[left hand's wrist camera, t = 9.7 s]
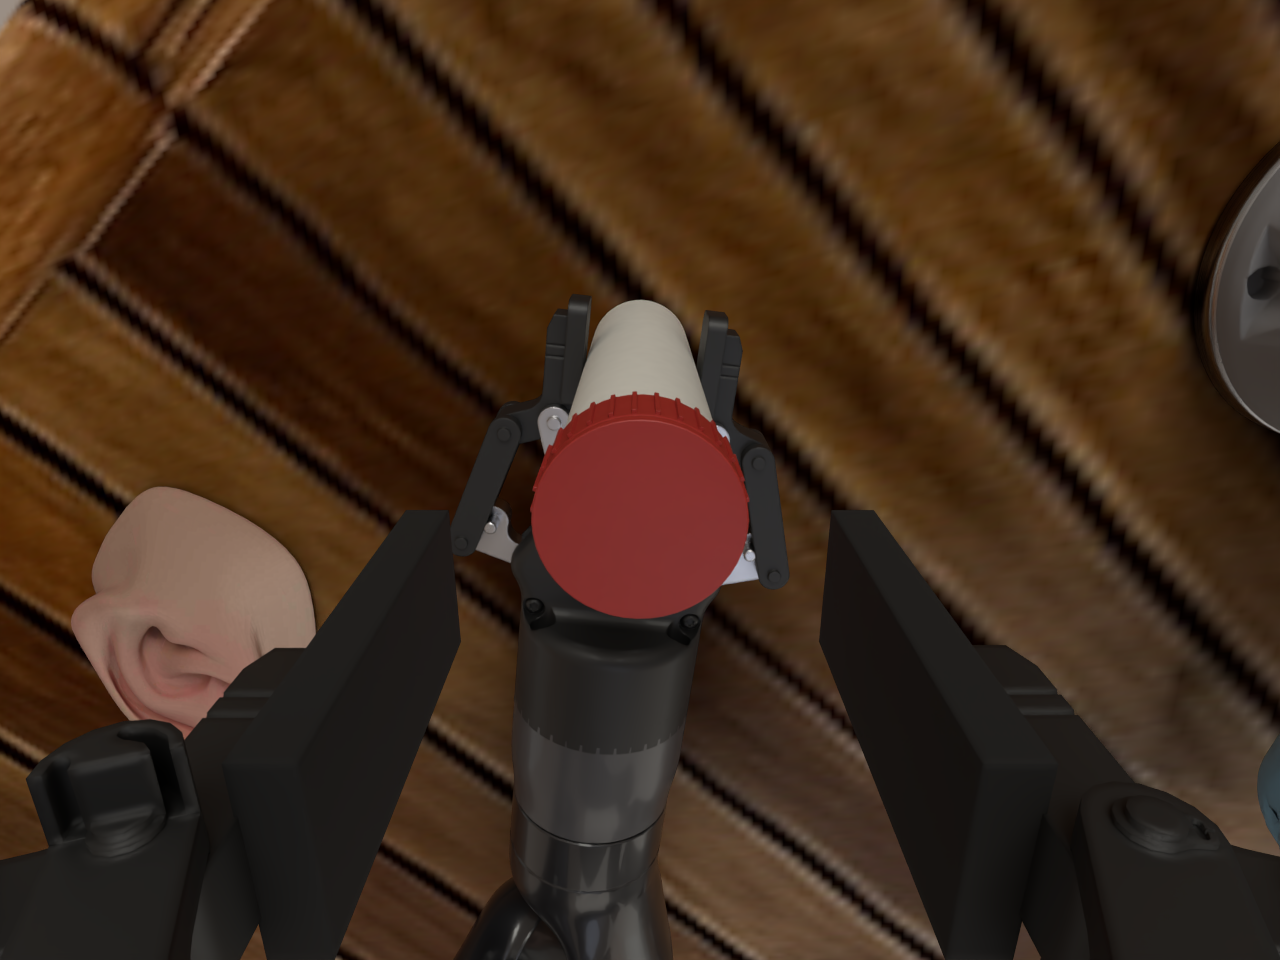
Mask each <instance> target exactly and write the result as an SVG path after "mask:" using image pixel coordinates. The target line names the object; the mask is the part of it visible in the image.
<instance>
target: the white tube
mask: <svg viewBox="0 0 1280 960" xmlns="http://www.w3.org/2000/svg"><path fill="white" fill-rule="evenodd" d="M633 391H637V394H646V395H654V393H655V392H656V393H659V396H661V397H666V398H670V399H672V400H675V398H679V399H680V401H681V403H683V404H685V405H687V406H689V407H691V408H693V409H694V408H695V407H697V408H698V409H699V410H700V414H701V415H703V416H704V417H705V418H706V419H707V420H708V421H709V422H710V421H712V417H711V413H710V410H709V407H708V404H707V401H706V398H705V394H704V391H703V388H702V385H701V382H700V379H699V376H698V372H697V369H696V366H695V363H694V360H693V357H692V353H691V350H690V347H689V344H688V341H687V338H686V334H685V331H684V329H683V327H682V325H681V323H680V321H679V320H678V319H677V317H676V316H675V315H674V314H673V313H672V312H671V311H670V310H668V309H667V308H666V307H664V306H662V305H660V304H658V303H655V302H651V301H646V300H634V301H628V302H625V303H622V304H620V305H618V306H616V307H615V308H613V309H612V310H610V311H609V312H608V313H607V314H606V315H605V316H604V317H603V318H602V320H601V321H600V323H599V325H598V327H597V329H596V331H595V334H594V337H593V341H592V344H591V347H590V350H589V353H588V356H587V360H586V363H585V366H584V369H583V372H582V375H581V379H580V382H579V385H578V388H577V391H576V395H575V398H574V401H573V404H572V407H571V410H570V414H569V417H568V420H567V423H566V426H567V425H568V424H569V423H570V421H571V420H572V416H573V415H574V414H575V413H577V414H578V415H579V414H580V413H581V412H583V411H585V410H586V409H588V408H590V404H591V403H592V402H595V403H596V404H598V403H600V402H602V401H604V400H608V399H610V397H611V395H614V394H615V395H616V397H619V396H625V395H632V392H633ZM566 426H565V427H566Z"/></svg>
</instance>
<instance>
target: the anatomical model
mask: <svg viewBox="0 0 1280 960" xmlns="http://www.w3.org/2000/svg"><path fill="white" fill-rule="evenodd" d="M92 582H93V586H94V589H95V592H96V595H94V596H92V597H90V598H89V599H87V600H86V601H84V602H83V603H82V604H80V605H79V606H78V607H77V608H76V610H75V611H74V613H73V615H72V619H71V626H72V630H73V632H74V634H75V636H76V638H77V640H78V642H79V644H80V645H81V647H82V649H83V650H84V652H85V654H86V655H87V657H88V659H89V660H90V662H91V664H92V665H93V667H94V669H95V670H96V672H97V674H98V675H99V677H100V679H101V680H102V682H103V684H104V685H105V687H106V689H107V690H108V692H109V694H110V695H111V697H112V698H113V700H114V701H115V702H116V704H117V705H118V707H119V708H120V709H121V711H122V712H123V713H124V714H125V715H126V717H127V718H128V719H129V720H130V721H134V720H145V719H152V720H158V721H164V722H169V723H171V724H173V725H174V726H175V727H176V728H178V729H179V730H180V731H181V732H182V733H183V737H184V740H185V738H186V737H187V736H188V735H189V734H190V732H191V731H192V730H193V729H194V728H195V726H196V725H197V724H198V723H199V722H200V720H201V719H202V718H206V717H207V712H208V711H209V709H210V708H211V707H212V706H213V705H214V703H215V702H216V701H217V700H218V699H219V697H223V695H224V691H225V690H226V689H227V688H228V687H229V685H230V684H231V683H232V682H233V680H234V679H235V678H236V677H237V676H238V674H239V673H240V672H241V671H242V670H243V668H245V667H246V666H248V665H249V664H251V663H253V662H254V661H256V660H257V659H259V658H260V657H262V656H263V655H265V654H266V653H268V652H269V651H271V650H272V649H274V648H306V647H307V646H308V644H309V643H310V642H311V640H312V639H313V638H314V636H315V635H316V629H315V618H314V610H313V604H312V599H311V594H310V590H309V586H308V583H307V580H306V578H305V575H304V573H303V571H302V569H301V567H300V566H299V564H298V563H297V561H296V560H295V558H294V557H293V556H292V555H291V554H290V552H289V551H288V550H287V549H286V548H285V547H284V546H283V545H282V544H280V543H279V542H278V541H277V540H276V539H275V538H273V537H272V536H271V535H269V534H268V533H267V532H265V531H264V530H263V529H261V528H260V527H258V526H257V525H255V524H253V523H252V522H250V521H249V520H247V519H246V518H244V517H242V516H240V515H238V514H236V513H234V512H232V511H230V510H228V509H227V508H225V507H222V506H220V505H218V504H216V503H214V502H212V501H210V500H207V499H205V498H203V497H200V496H198V495H195V494H192V493H190V492H187V491H184V490H180V489H177V488H171V487H154V488H151V489H148V490H146V491H144V492H143V493H141V494H140V495H138V496H137V497H136V498H135V499H134V500H133V501H132V502H131V503H130V504H129V505H128V506H127V507H126V509H125V510H124V511H123V513H122V514H121V515H120V517H119V518H118V520H117V521H116V522H115V524H114V525H113V526H112V528H111V529H110V531H109V532H108V534H107V535H106V537H105V539H104V541H103V543H102V545H101V548H100V550H99V552H98V554H97V557H96V559H95V562H94V565H93V569H92Z"/></svg>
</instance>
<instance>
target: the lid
mask: <svg viewBox="0 0 1280 960" xmlns="http://www.w3.org/2000/svg"><path fill="white" fill-rule="evenodd" d="M743 481H745V479H744V476H743V474H742V471H741V468H740V465H739V463H738V460H737V457H736V454H733V452H732V449H731V446H730V443H729V440H728V438H727V437H726V436H724V437H722V435H721V434H720V433H719V431H718V429H717V426H716V423H715V422H714V421H713V420H712V421H710V422H709V421H708V420H707V419H706V418H705V417H704V416H703V415H701V414H700V410H699V409H698V408H697V407H695V408H694V409H693V408H691V407H689V406H687V405H685V404H683V403H681V401H680V399H679V398H675V400H672V399H670V398H666V397H661V396H659V393H656V392H655V393H654V395H646V394H637V391H633V392H632V395H625V396H619V397H616V395H615V394H614V395H611V397H610V399H608V400H604V401H602V402H600V403H598V404H596V403H595V402H592V403H591V404H590V408H588V409H586V410H585V411H583V412H581V413H580V414H579V415H578V414H577V413H575V414H574V415H573V416H572V420H571V421H570V423H569V424H568V425H567V426H566V427H565V428H564V429H563V428H561V427H560V429H559V430H558V432H557V435H556V438H555V441H554V444H553V446H552V445H550V444H549V446H548V448H547V450H546V453H545V456H544V459H543V461H542V464H541V467H540V470H539V473H538V475H537V478H536V481H535V484H534V486H533V490H532V491H534V492H535V495H534V499H533V502H532V505H531V508H530V512H532V517H531V523H532V534H533V538H534V542H535V546H536V549H537V552H538V554H539V557H540V559H541V561H542V563H543V564H544V566H545V568H546V570H547V571H548V573H549V574H550V575H551V577H552V578H553V579H554V581H555V582H556V583H557V584H558V585H559V586H560V587H561V588H562V589H563V590H564V591H565V592H567V593H568V594H569V595H571V596H572V597H573V598H574V599H576V600H578V601H579V602H581V603H582V604H584V605H586V606H588V607H590V608H592V609H594V610H597V611H599V612H602V613H605V614H608V615H612V616H617V617H622V618H632V619H650V618H657V617H664V616H668V615H671V614H675V613H678V612H681V611H683V610H686V609H688V608H690V607H692V606H694V605H696V604H698V603H700V602H701V601H703V600H704V599H706V598H707V597H708V596H710V595H711V594H712V593H714V592H715V591H716V590H717V589H718V588H719V587H720V586H721V585H722V584H723V583H724V582H725V580H726V579H727V578H728V577H729V576H730V574H731V573H732V571H733V570H734V568H735V567H736V565H737V563H738V561H739V559H740V557H741V555H742V552H743V550H744V546H745V543H746V540H747V534H748V527H749V511H748V504H747V502H749V496H748V494H747V491H746V488H745V485H744V482H743Z"/></svg>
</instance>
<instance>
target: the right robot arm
mask: <svg viewBox="0 0 1280 960" xmlns="http://www.w3.org/2000/svg"><path fill="white" fill-rule="evenodd" d="M591 299H592V297H591V296H586V295H578V294H572V296H571V298H570V300H569V306H568V310H566V309H557V311H556V312H555V314H554V316H553V318H552V320H551V322H550V324H549V326H548V328H547V340H546V356H545V368H544V381H543V393H542V395H541V396H539V397H538V398H536V399H534V400H530V401H526V402H521V403H520V402H517V401H510V402H507V403H505V404H504V405H503V406H502V407H501V408H500V410H499V412H498V414H497V417H496V418H495V419H494V420H493V421H492V423H491V424H490V426H489V428H488V431H487V433H486V436H485V438H484V441H483V444H482V446H481V449H480V451H479V454H478V457H477V459H476V462H475V464H474V467H473V470H472V472H471V475H470V477H469V480H468V483H467V485H466V488H465V490H464V493H463V496H462V498H461V501H460V503H459V506H458V509H457V511H456V514H455V516H454V519H453V522H452V524H451V527H450V531H451V542H452V553H453V554H455V555H458V556H468V555H470V554H472V553H473V552H474V551H475V550H478V551H480V552H483V553H486V554H488V555H491V556H493V557H496V558H499V559H501V560H504V561H506V562H509V563H511V569H512V572H513V575H514V577H515V579H516V580H517V582H518V584H519V587H520V590H521V614H520V628H519V641H518V655H517V669H516V683H515V696H514V712H513V726H512V760H513V768H514V789H513V803H512V816H511V831H510V866H511V870H512V875H513V877H512V878H511V879H509V880H508V881H506V882H505V883H504V884H503V885H502V886H500V888H499V889H498V890H497V891H496V892H495V893H494V894H493V895H492V897H491V898H490V900H489V901H488V903H487V904H486V905H485V907H484V908H483V910H482V912H481V913H480V915H479V917H478V918H477V920H476V922H475V923H474V925H473V927H472V929H471V930H470V932H469V934H468V936H467V937H466V939H465V941H464V943H463V944H462V946H461V948H460V949H459V951H458V953H457V954H456V956H455V958H454V959H453V960H673V951H672V942H671V934H670V928H669V923H668V917H667V911H666V906H665V900H664V894H663V887H662V880H661V875H660V870H659V866H658V861H657V857H658V851H659V846H660V840H661V833H662V827H663V821H664V815H665V809H666V803H667V797H668V793H669V790H670V787H671V784H672V781H673V778H674V775H675V772H676V769H677V766H678V762H679V757H680V751H681V746H682V740H683V734H684V728H685V722H686V716H687V710H688V704H689V698H690V691H691V686H692V680H693V674H694V668H695V662H696V656H697V650H698V644H699V638H700V632H701V625H702V620H703V616H704V613H705V611H706V609H707V607H708V605H709V604H710V603H711V601H712V600H713V599H714V598H715V597H716V596H717V594H718V593H719V591H720V588H721V586H720V587H719V588H718V589H717V590H716V591H715V592H714V593H712V594H711V595H710V596H708V597H707V598H706V599H704V600H703V601H701V602H700V603H698V604H696V605H694V606H692V607H690V608H688V609H686V610H683V611H681V612H678V613H675V614H671V615H668V616H664V617H657V618H650V619H632V618H622V617H617V616H612V615H608V614H605V613H602V612H599V611H597V610H594V609H592V608H590V607H588V606H586V605H584V604H582V603H581V602H579V601H578V600H576V599H574V598H573V597H572V596H571V595H569V594H568V593H567V592H565V591H564V590H563V589H562V588H561V587H560V586H559V585H558V584H557V583H556V582H555V581H554V579H553V578H552V577H551V575H550V574H549V573H548V571H547V570H546V568H545V566H544V564H543V563H542V561H541V559H540V557H539V554H538V552H537V549H536V546H535V542H534V538H533V534H532V524H531V525H530V526H529V527H528V528H527V529H526V531H525V532H524V533H523V534H522V535H521V534H519V533H517V532H516V531H515V530H514V529H513V527H512V524H511V517H512V509H511V507H510V505H509V504H508V503H507V502H506V501H505V500H503V499H500V498H498V496H499V494H500V491H501V489H502V486H503V484H504V481H505V479H506V476H507V474H508V471H509V469H510V466H511V464H512V461H513V459H514V457H515V454H516V452H517V449H518V447H519V444H521V443H525V442H530V441H534V440H538V439H541V441H542V445H543V450H544V454H545V453H546V450H547V448H548V446H549V444H550V445H552V446H553V444H554V441H555V438H556V435H557V432H558V430H559V429H560V427H561V428H563V429H564V428H565V426H566V423H567V420H568V417H569V414H570V410H571V407H572V404H573V401H574V398H575V395H576V391H577V388H578V385H579V382H580V379H581V375H582V372H583V369H584V366H585V363H586V355H587V344H588V333H589V323H590V312H591ZM742 352H743V351H742V346H741V342H740V337H739V335H738V334H737V332H736V331H735V330H732V329H728V317H727V316H726V314H725V313H724V312H717V311H709V310H706V311H705V314H704V319H703V325H702V332H701V339H700V346H699V353H698V360H697V367H696V369H697V372H698V376H699V379H700V382H701V385H702V388H703V391H704V394H705V398H706V401H707V404H708V407H709V410H710V413H711V417H712V420H713V421H714V422H715V423H716V426H717V429H718V431H719V433H720V434H721V435H722V437H724V436H726V437H727V438H728V440H729V443H730V446H731V449H732V452H733V454H736V457H737V460H738V463H739V465H740V468H741V471H742V474H743V476H744V479H745V481H743V482H744V485H745V488H746V491H747V494H748V496H749V502H747V504H748V511H749V527H748V534H747V540H746V543H745V546H744V550H743V552H742V555H741V557H740V559H739V561H738V563H737V565H736V567H735V568H734V570H733V571H732V573H731V574H730V576H729V577H728V578H727V579H726V580H725V582H724V583H723V584H722V585H725V584H731V583H738V582H744V581H750V580H756V579H759V581H760V583H761V584H762V585H763V586H764V587H765V588H768V589H778V588H781V587H783V586H784V585H785V584H786V583H787V581H788V579H789V568H788V560H787V552H786V544H785V537H784V529H783V521H782V513H781V505H780V498H779V490H778V482H777V474H776V466H775V459H774V456H773V454H772V452H771V450H770V448H769V446H768V444H767V442H766V440H765V438H764V436H763V435H762V433H761V432H759V431H758V430H756V429H748V428H746V427H744V426H742V425H740V424H738V423H737V422H735V421H734V420H733V419H732V412H733V406H734V400H735V394H736V388H737V382H738V376H739V370H740V364H741V358H742Z"/></svg>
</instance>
